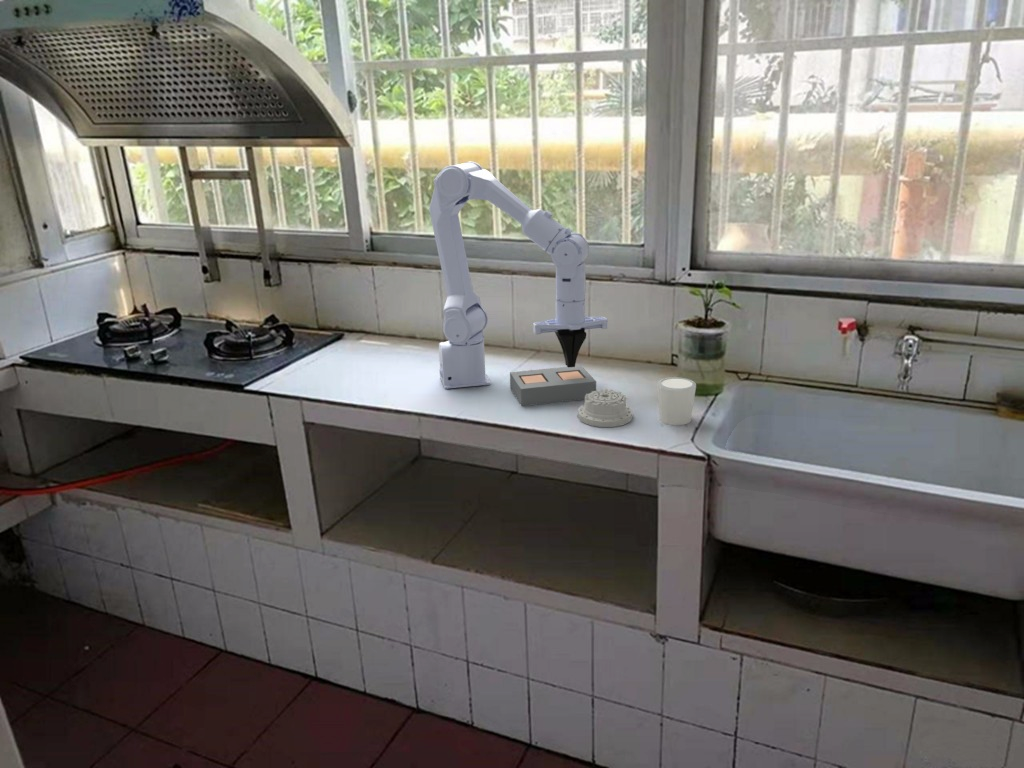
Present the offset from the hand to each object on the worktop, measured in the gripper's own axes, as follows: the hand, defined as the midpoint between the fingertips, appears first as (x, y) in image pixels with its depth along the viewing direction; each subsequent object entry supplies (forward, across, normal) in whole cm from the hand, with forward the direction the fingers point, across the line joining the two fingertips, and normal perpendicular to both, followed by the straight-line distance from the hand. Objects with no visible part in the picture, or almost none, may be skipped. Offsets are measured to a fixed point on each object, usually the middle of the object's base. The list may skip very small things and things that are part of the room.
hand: (570, 365), depth 158 cm
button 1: (+5, -8, 0) cm, 9 cm away
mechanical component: (+6, +2, -14) cm, 16 cm away
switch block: (+5, -4, 0) cm, 7 cm away
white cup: (+6, +14, -19) cm, 24 cm away
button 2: (+5, 0, 0) cm, 5 cm away
